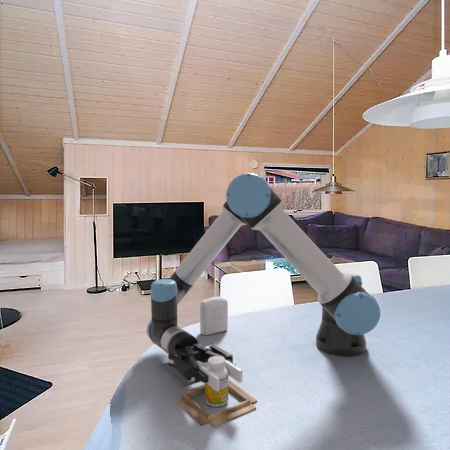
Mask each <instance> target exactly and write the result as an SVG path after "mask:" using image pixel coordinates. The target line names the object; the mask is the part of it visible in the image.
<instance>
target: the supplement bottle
mask: <svg viewBox="0 0 450 450" xmlns="http://www.w3.org/2000/svg"><path fill="white" fill-rule="evenodd" d="M207 369H208V370H209V371H210V372H212V373H213V374H215V375H216V376H217V377H219V378H220V391H215V390H214V389H213V388H212V387H210V386H209V385H208V384H207V383H204V384H205V392H204V401H205V403H206V404H207V405H208V406H210V407H216V408H217V407H222V406H225V405H226V404H227V403H228V402H229V390H228V381H229V375H228V369H227V368H226V367H225V358H223V357H221V356H213V357H210V358H209V359H208V368H207Z"/></svg>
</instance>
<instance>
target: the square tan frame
mask: <svg viewBox="0 0 450 450" xmlns="http://www.w3.org/2000/svg"><path fill="white" fill-rule="evenodd" d="M229 391H230V392H231V393H232V394H233V395H235V396H236V397H237V398H239V400H241V401H242V402H238V403H237V404H234V405H231V406H229V407H227V408H225V409H223V410H220V411H217V412H214V413H213V414H209V413H208V412H207V411H206V410H205V409H204V408H203V407H202V406H200V404H199V403H197V401H195V400H194V399H193V398H192V397H194V396H197V395H200V394H202V393H205V383H203V384H202V385H198V386H196V387H193V388H191V389H187V390H185V391H181V392H180V396H181V397H179V398H177V399H176V402H177V403H178V404H179V405H180V406H181V407H182V408H183V409H184V410H185V411H186V412H187V414H189V415H190V416H191V417H192V418H193V419H194V420H195V421H196V422H197V424H198V425H200V426H204V425H206V424H208V423H209V424H210V425H211V426H213V427H214V428H216V427H219V426H220V425H223V424H225V423H227V422H229V421H231V420H234V419H236V418H238V417H240V416H243V415H246V414H247V413H250V412H253V411H254V410H256V409H257V407H256V406H255V405H253V404H254V403H258V400H257V398H255V397H254V396H253V395H250V394H249V393H247V392H246V391H245V390H244V389H242V388H241V387H239V386H238V385H237V384H235V383H234V382H233V381H231V380H230V379H228V392H229Z"/></svg>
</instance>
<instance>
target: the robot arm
mask: <svg viewBox="0 0 450 450" xmlns="http://www.w3.org/2000/svg"><path fill="white" fill-rule="evenodd" d="M225 193H226V194H225V196H226V201H225V202H224V203H223V205H222V211H221V212H220V214H219V215H218V217H216V219H215V220H214V221H213V223H211V225H210V226H209V227H208V229H207V230H206V231H205V233H204V234H203V235H202V237H200V239H199V240H198V241H197V242H196V244H195V245H194V246H193V248H192V249H191V250H190V252H189V253H188V254H187V256H185V258H184V259H183V261H182V262H181V263H180V264H179V266H177V268H176V269H175V271H173V273H172V274H171V275H170V277H169V278H164V279H156V280H153V282H151V285H150V293H149V294H150V303H151V304H150V306H151V307H150V308H151V319H150V321H149V322H148V324H147V327H146V334H147V336H148V338H149V339H150V341H151V342H152V343H153V344H154V345H155V346H157V347H158V348H160V349H161V350H163V352H165V353H166V354H167V355H168V357H167V359H168V360H167V363H168V365H169V366H171V367H174V368H175V369H176V370H177V371H178V372H179V373H180V374H181V375H182V376H183V377H184V378H186V379H187V380H191V379H192V378H193V377H194V378H195V382H194V383H200V382H201V383H203V384H205V383H207V384H208V385H209V386H210V387H212V388H213V389H214V390H215V391H220V378H219V377H217V376H216V375H215V374H213V373H212V372H210V371H209V370H208V369H206V368H205V367H201V370H200V367H199V365H198V363H197V361H200V362H203V363H205V362H208V359H209V358H210V357H213V356H221V357H223V358H225V367H226V368H227V369H228V377H230V378H232V380H235V381H236V382H237V383H239V384H241V383H243V369H241V368H240V367H238V366H237V364H235V363H234V354H232V353H230V352H228V351H227V350H224V349H223V348H221V347H219V346H217V345H216V343H215V342H210V343H209V345H207V346H205V345H204V344H202V343H200V342H199V341H198V339H197V338H196V337H195V336H194V335H193V334H192V333H191V334H190V333H189V332H188V331H187V330H185V329H183V328H181V327H180V326H179V325H178V305H179V303H180V302H181V301H182V299H184V297H185V296H186V295H187V294H188V292H189V291H190V290H191V289H192V287H193V286H194V284H196V282H197V281H198V279H199V278H200V277H201V276H202V275H203V274H204V272H205V271H206V269H208V268H209V266H210V265H211V264H212V262H213V261H214V260H215V258H217V256H218V255H219V254H220V252H221V251H222V250H223V248H225V246H226V245H227V244H228V243H229V241H230V240H231V239H232V237H234V235H235V234H236V233H237V232H238V230H239V229H240V228H241V227H242V226H246V225H247V226H248V227H249V228H250V230H252V231H253V230H255V231H260V232H261V234H263V236H265V238H266V239H267V240H268V241H269V242H270V243H271V245H273V247H274V248H275V249H277V251H278V252H279V253H280V254H281V255H282V256H283V257H284V259H286V260H287V262H289V264H290V265H291V266H292V267H293V268H294V269H295V270H296V272H298V274H299V275H300V276H301V277H302V278H303V279H304V280H305V281H306V282H307V283H308V284H309V285H310V286H311V288H313V289H314V291H315V292H316V293H317V302H318V303H319V304H320V305H321V321H320V325H319V326H318V330H317V332H316V336H315V337H316V338H315V345H316V346H317V348H319V349H320V350H322V351H324V352H326V353H329V354H332V355H337V356H344V357H352V356H359V355H362V354H365V352H366V351H367V340H366V338H365V337H366V336H365V334H368V333H370V332H371V331H373V330H374V329H375V328H376V327H377V325H378V323H379V321H380V318H381V308H380V305H379V303H378V301H377V299H376V298H375V297H374V296H373V295H372V294H370V293H369V292H367V290H366V289H365V288H364V287H363V281H362V280H363V279H362V277H361V276H360V275H359V274H353V273H352V274H351V273H346V272H341V271H340V270H339V268H338V267H337V266H336V265H335V264H334V263H333V262H332V261H331V260H330V259H329V258H328V257H327V255H326V254H325V253H324V252H323V251H322V250H321V249H320V248H319V247H318V245H316V244H315V243H314V241H312V239H311V238H310V237H309V236H308V235H307V234H306V233H305V231H303V229H302V228H301V227H299V225H298V224H297V223H296V221H294V220H293V218H291V217H290V216H289V214H287V212H286V211H285V210H284V208H283V204H284V202H283V200H282V199H281V197H279V195H278V194H277V193H276V192H275V191H274V190H273V189H272V187H270V185H269V183H268V181H266V179H265V178H264V177H263V176H261V175H259V174H257V173H254V172H244V173H241V174H240V175H237V176H236V177H234V178H233V179H232V180H231V181H230V183H229V184H228V186H227V188H226V192H225Z"/></svg>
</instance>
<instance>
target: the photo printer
mask: <svg viewBox="0 0 450 450" xmlns="http://www.w3.org/2000/svg"><path fill="white" fill-rule="evenodd" d="M199 305H200V307H199V308H200V311H199V314H200V315H199V317H200V318H199V322H200V323H199V324H200V326H199V330H200V334H201V335H202V336H207V335H208V336H209V335H214V334H217V333H222V332H226V331H228V323H229V322H228V319H229V317H228V316H229V315H228V312H229V309H228V308H229V307H228V306H229V305H228V299H227V298H226V297H223V296H212V297H209V298H206V299H204V300H202V301H201V302H200V304H199Z"/></svg>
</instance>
